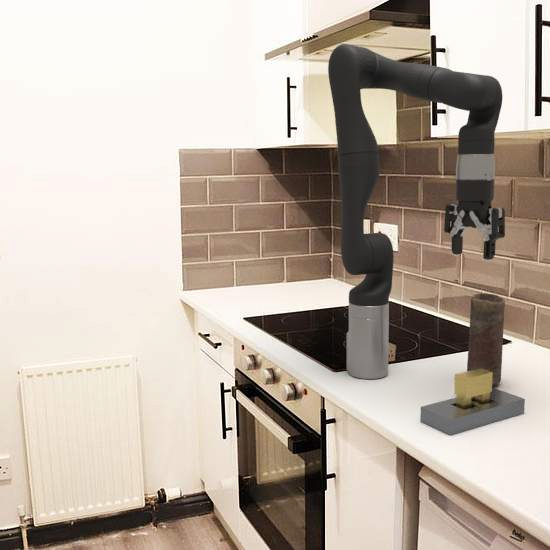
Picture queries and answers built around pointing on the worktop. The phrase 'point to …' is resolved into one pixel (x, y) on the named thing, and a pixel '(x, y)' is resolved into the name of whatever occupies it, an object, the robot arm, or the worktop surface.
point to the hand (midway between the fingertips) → (472, 256)
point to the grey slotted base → (471, 412)
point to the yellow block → (473, 387)
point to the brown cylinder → (486, 334)
